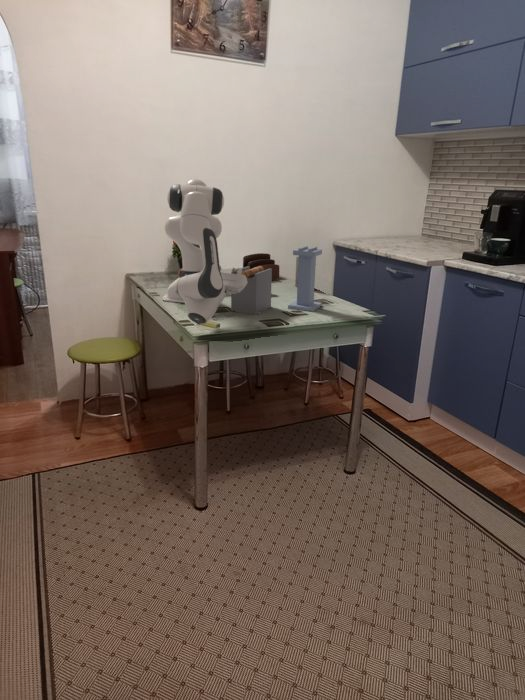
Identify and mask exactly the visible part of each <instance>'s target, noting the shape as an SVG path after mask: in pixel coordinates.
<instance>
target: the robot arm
mask: <svg viewBox="0 0 525 700" xmlns="http://www.w3.org/2000/svg"><path fill="white" fill-rule="evenodd" d="M166 198H167V203H168V206H169V207H168V208H169V209H170V210H171V211H173V212H176V213H180V214H179V215H173V216H169V217H168V218H167V219H166V221H165V224H164V231H165V233H166V235H167V237H168V238H170V239H171V240H172V241H173V242H174V243H175V244H176V245H177V247H178V248H179V250H180V255H181V262H182V268H180V269H179V271H178V274H177V275H178V278H176V279H175V280H173V282H172V283H170V284H169V285H168V288H167V291H166V294H165V295H163V296H162V301H163V300H164V301H163V302H171V303H183V304H185V307H186V311H187V317H188V318H189V320H190V321H191V322H193V323H195V324H199V325H202V324H207V322H209V321H210V320H211V319H212V317H213V316H214V315H215V313H216V312H217V310H218V307H219V306H220V305H221V304H222V302H223V301H224V299H225V297H226V296H227V294H231V293H233V294H236V293H240V292H241V291H242V290H243V289H244V287H245V286H246V285H247V278H246V276H245V275H241V273H242V268H243V267H241V268H240V267H238V268H236V269H237V274H231V272H230V273H229V272H221V271H222V266H221V264H220V258H219V248H218V241H217V238H219V237H220V235H221V233H222V227H223V226H222V222H221V221H220V219H219V218H218V217H217V216H215V215H219V214H220V213H221V212H222V210H223V208H224V205H225V198H224V195H223V191H221V190H220V189H219V188H217V187H210V186H207V184H206V183H205V182H204V181H203V180H201V179H198V178H193V179H191V180H190V179H189V181H188V182H186V183H185V184H180V183H179V184H174V185H172V186H170V188H169V190H168V192H167V197H166Z"/></svg>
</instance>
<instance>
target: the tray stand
mask: <svg viewBox="0 0 525 700" xmlns="http://www.w3.org/2000/svg"><path fill="white" fill-rule="evenodd" d="M241 268H242V272H243V271H246V270H249V269H250V266H247V267H244V268H243V267H241ZM230 273H231V274H237V270H236V269H235V271H231V272H230ZM272 280H273V279H272V269H271V268H270V269H267V270H264V271H261V272H258V273H256V274H254V275H253V276H251V277H248V278H247V285H246V286H245V287H244V289H243V290H242V291H241V292H240V293H236V294H233V293H230V299H231V301H230V304H231V305H230V306H231V307H230V309H231V312H233V311H237V312H236V313H241V312H244V313H243V314H248V313H251V314H250V315H255V314H256V315H257V313H258V314H260V313H261V312H264V311H265V309H266V310H268V309H269V308H271V307H272V284H273V283H272ZM267 308H268V309H267ZM263 310H264V311H263ZM259 312H260V313H259Z"/></svg>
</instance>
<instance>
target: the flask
mask: <svg viewBox="0 0 525 700" xmlns="http://www.w3.org/2000/svg"><path fill="white" fill-rule="evenodd" d="M298 262H299V256H296V259H295V285H294V286H295V287H296V288H297V285H298Z"/></svg>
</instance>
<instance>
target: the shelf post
mask: <svg viewBox="0 0 525 700" xmlns="http://www.w3.org/2000/svg"><path fill="white" fill-rule="evenodd" d="M322 254H323V249H321V248H320V249H319V248H318V246H314V247H310V248H309V246H308V245H306V246H302V247H299V248H296V249H292V255H293V256H298V257H299V262H298V285H297V287H296V288H297V291H296V300H294V301H293V302H291V303H290V304H288V305H287V309H289V308H291V310H297V309H299V310H298V311H304V310H306V312H312V311H313V312H315V311H317V310H318V309H319V308H320V306H321V307H322V305H323V303H322V302H318V301H315V300H314V299H315V284H316V283H315V282H316V281H315V280H316V268H317V267H316V264H317V263H316V262H317V256H321V255H322ZM317 308H318V309H317Z"/></svg>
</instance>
